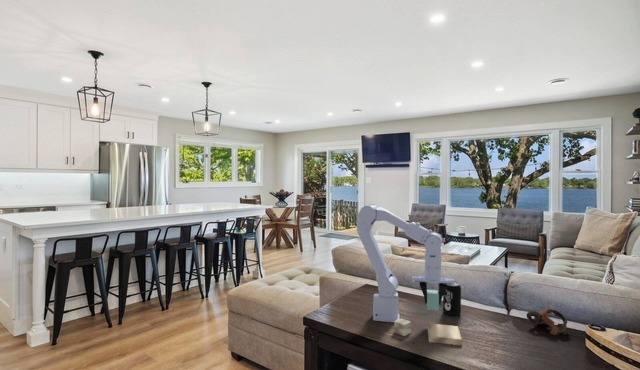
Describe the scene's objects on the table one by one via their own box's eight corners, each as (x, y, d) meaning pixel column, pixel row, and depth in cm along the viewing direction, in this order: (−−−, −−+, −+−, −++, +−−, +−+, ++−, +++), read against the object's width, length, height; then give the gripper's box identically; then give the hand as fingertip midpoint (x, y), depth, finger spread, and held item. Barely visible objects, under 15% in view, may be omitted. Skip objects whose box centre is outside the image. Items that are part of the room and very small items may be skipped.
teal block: (427, 309, 124) (427, 293, 124) (426, 305, 128) (426, 289, 128) (438, 310, 123) (438, 294, 123) (437, 306, 127) (438, 290, 127)
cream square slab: (429, 341, 112) (429, 335, 112) (427, 328, 122) (427, 323, 122) (461, 345, 110) (461, 339, 110) (457, 331, 120) (457, 326, 120)
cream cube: (394, 332, 119) (394, 321, 119) (401, 329, 122) (401, 318, 122) (404, 336, 116) (404, 325, 116) (410, 333, 119) (410, 321, 119)
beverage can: (462, 317, 132) (462, 286, 132) (444, 315, 133) (444, 285, 133) (459, 310, 139) (459, 281, 138) (441, 309, 140) (442, 280, 140)
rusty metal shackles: (553, 324, 126) (565, 310, 122) (562, 346, 118) (574, 331, 114) (519, 314, 128) (529, 299, 124) (525, 335, 120) (536, 320, 116)
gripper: (412, 267, 123) (412, 305, 123) (455, 270, 119) (455, 309, 120) (412, 262, 130) (412, 298, 130) (453, 265, 126) (452, 302, 126)
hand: (432, 303), depth 125 cm, fingers closed on teal block, 4 cm apart
